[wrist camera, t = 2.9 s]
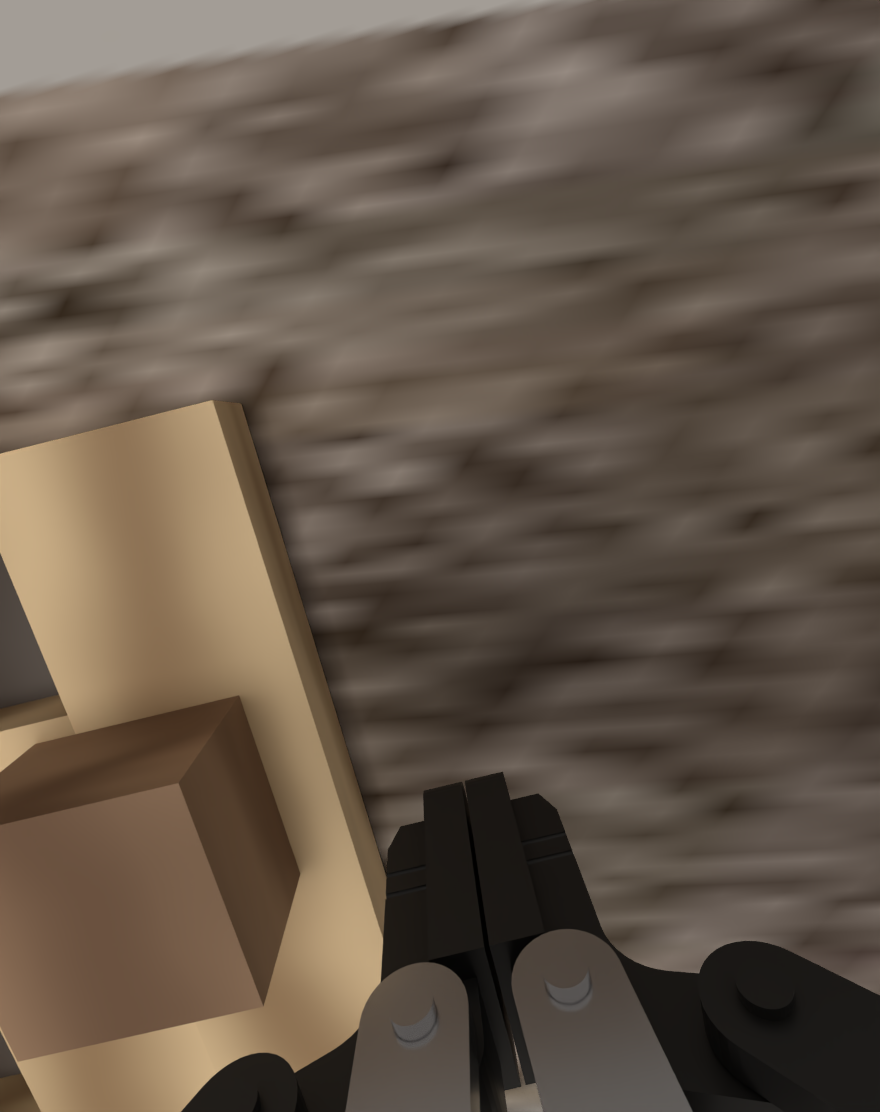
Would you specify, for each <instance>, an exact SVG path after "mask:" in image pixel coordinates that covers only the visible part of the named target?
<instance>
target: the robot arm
mask: <svg viewBox="0 0 880 1112" xmlns="http://www.w3.org/2000/svg"><path fill="white" fill-rule="evenodd" d="M465 786H466V792H467V797H466V793H465V789H464V786H463V783H462V782H459V783H454V784H450V785H446V786H442V787H438V788H433V789H429V790H425V791H424V793H423V800H424V821H422V822H418V823H413V824H409V825H405V826H401V827H400V829H399V830H398V832H397V834H396V836H395V838H394V840H393V842H392V843H391V845H390V847H389V849H388V861H387V878H386V899H385V914H384V932H383V950H382V968H381V982H380V984H379V985H378V986H377V987H376V988H375V990H374V991H373V992H372V993H371V995H370V997H369V998H368V1000H367V1002H366V1004H365V1006H364V1009H363V1011H362V1014H361V1018H360V1023H359V1028H358V1029H357V1030H356V1032H355V1033H354V1034H353V1035H352V1036H351V1037H350V1038H348V1039H347V1040H346V1041H345V1042H344V1043H342V1044H341V1045H340V1046H338V1047H337V1048H335V1049H334V1050H332V1051H331V1052H329V1053H327V1054H325V1055H324V1056H322V1057H320V1058H319V1059H317V1060H315V1061H314V1062H312V1063H310V1064H309V1065H307V1066H305V1067H303V1068H302V1069H300V1070H298V1071H297V1072H295V1073H294V1071H293V1069H292V1067H291V1066H290V1064H289V1063H288V1062H287V1061H286V1060H285V1059H284V1058H282V1057H280V1056H278V1055H276V1054H272V1053H255V1054H250V1055H247V1056H244V1057H242V1058H239V1059H237V1060H235V1061H234V1062H232V1063H230V1064H228V1065H227V1066H226V1067H224V1068H223V1069H221V1070H220V1071H219V1072H218V1073H216V1074H215V1075H214V1076H213V1077H212V1078H211V1079H210V1080H209V1081H208V1082H207V1083H206V1084H205V1085H204V1086H203V1087H202V1088H201V1089H200V1090H199V1091H198V1093H197V1094H196V1095H195V1096H194V1097H193V1098H192V1100H191V1101H190V1102H189V1103H188V1104H187V1105H186V1106H185V1108H184V1109H183V1110H182V1111H181V1112H507V1107H506V1099H505V1092H504V1090H509V1089H513V1088H517V1087H521V1083H520V1077H519V1071H518V1064H517V1058H516V1052H515V1046H514V1041H515V1045H516V1049H517V1053H518V1057H519V1060H520V1064H521V1068H522V1072H523V1076H524V1079H525V1083H526V1085H528V1084H532V1083H536V1085H537V1089H538V1093H539V1097H540V1100H541V1104H542V1108H543V1112H880V996H879V995H877V994H875V993H873V992H871V991H869V990H867V989H865V988H863V987H861V986H859V985H857V984H855V983H853V982H851V981H849V980H847V979H845V978H843V977H841V976H839V975H837V974H835V973H833V972H831V971H829V970H827V969H825V968H823V967H821V966H819V965H817V964H815V963H813V962H811V961H809V960H807V959H805V958H803V957H801V956H798V955H796V954H794V953H792V952H790V951H788V950H786V949H783V948H781V947H779V946H775V945H772V944H768V943H763V942H757V941H741V942H734V943H730V944H727V945H724V946H722V947H720V948H718V949H716V950H715V951H714V952H713V953H711V954H710V955H709V956H708V958H707V959H706V960H705V961H704V963H703V965H702V967H701V969H700V973H699V974H697V973H686V972H674V971H664V970H658V969H653V968H650V967H646V966H644V965H641V964H639V963H637V962H634V961H633V960H631V959H629V958H628V957H626V956H624V955H623V954H622V953H621V952H619V951H618V950H617V949H616V948H615V947H614V946H613V945H612V944H611V943H610V942H609V940H608V939H607V937H606V936H605V934H604V932H603V930H602V928H601V926H600V923H599V920H598V918H597V915H596V912H595V910H594V907H593V904H592V902H591V899H590V896H589V894H588V891H587V888H586V886H585V883H584V881H583V878H582V875H581V873H580V870H579V867H578V865H577V862H576V859H575V857H574V854H573V852H572V849H571V846H570V843H569V841H568V838H567V835H566V834H565V830H564V828H563V825H562V822H561V820H560V817H559V814H558V812H557V809H556V808H555V807H553V806H552V805H551V804H550V803H549V802H548V801H546V800H545V799H544V798H543V797H542V796H541V795H539V794H534V795H530V796H526V797H522V798H518V799H513V800H510V797H509V793H508V789H507V786H506V782H505V778H504V774H503V772H500V773H496V774H491V775H487V776H483V777H479V778H475V779H470V780H466V781H465ZM467 799H468V801H467ZM513 1038H514V1040H513Z"/></svg>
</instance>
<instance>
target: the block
mask: <svg viewBox="0 0 880 1112" xmlns="http://www.w3.org/2000/svg"><path fill="white" fill-rule="evenodd" d="M299 877H300V871H299V868H298V865H297V862H296V859H295V856H294V854H293V851H292V848H291V845H290V842H289V839H288V836H287V833H286V830H285V827H284V824H283V821H282V819H281V816H280V813H279V810H278V807H277V804H276V801H275V798H274V795H273V792H272V789H271V787H270V784H269V781H268V778H267V775H266V772H265V769H264V766H263V763H262V760H261V757H260V754H259V752H258V749H257V746H256V743H255V740H254V737H253V734H252V731H251V728H250V725H249V722H248V720H247V717H246V714H245V711H244V708H243V705H242V702H241V699H240V696H239V695H238V696H234V697H230V698H225V699H221V700H217V701H213V702H209V703H204V704H200V705H196V706H192V707H188V708H184V709H179V710H175V711H171V712H167V713H163V714H158V715H154V716H150V717H146V718H142V719H138V720H133V721H129V722H125V723H121V724H117V725H112V726H108V727H104V728H100V729H96V730H92V731H87V732H83V733H79V734H75V735H71V736H66V737H62V738H58V739H54V740H50V741H45V742H41V743H37V744H34V745H33V746H32V747H31V748H29V749H28V750H27V751H26V752H25V753H23V754H22V755H21V756H20V757H18V758H17V759H16V760H15V761H14V762H12V763H11V764H10V765H9V766H7V767H6V768H5V769H4V770H2V771H1V772H0V1028H1V1030H2V1032H3V1034H4V1036H5V1037H6V1039H7V1041H8V1043H9V1045H10V1047H11V1049H12V1051H13V1053H14V1055H15V1057H16V1059H17V1061H18V1062H19V1061H24V1060H28V1059H33V1058H37V1057H42V1056H46V1055H51V1054H55V1053H60V1052H64V1051H69V1050H73V1049H77V1048H82V1047H86V1046H91V1045H95V1044H100V1043H104V1042H109V1041H113V1040H118V1039H122V1038H127V1037H131V1036H135V1035H140V1034H144V1033H149V1032H153V1031H158V1030H162V1029H167V1028H171V1027H176V1026H180V1025H184V1024H189V1023H193V1022H198V1021H202V1020H207V1019H211V1018H216V1017H220V1016H225V1015H229V1014H234V1013H238V1012H242V1011H247V1010H251V1009H256V1008H260V1007H264V1003H265V1000H266V996H267V993H268V989H269V985H270V982H271V978H272V975H273V971H274V967H275V964H276V960H277V957H278V953H279V949H280V946H281V942H282V939H283V935H284V931H285V928H286V924H287V921H288V917H289V913H290V910H291V906H292V903H293V899H294V895H295V892H296V888H297V885H298V881H299Z"/></svg>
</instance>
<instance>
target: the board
mask: <svg viewBox="0 0 880 1112" xmlns="http://www.w3.org/2000/svg"><path fill="white" fill-rule="evenodd" d="M238 695H239V696H240V699H241V702H242V705H243V708H244V711H245V714H246V717H247V720H248V722H249V725H250V728H251V731H252V734H253V737H254V740H255V743H256V746H257V749H258V752H259V754H260V757H261V760H262V763H263V766H264V769H265V772H266V775H267V778H268V781H269V784H270V787H271V789H272V792H273V795H274V798H275V801H276V804H277V807H278V810H279V813H280V816H281V819H282V821H283V824H284V827H285V830H286V833H287V836H288V839H289V842H290V845H291V848H292V851H293V854H294V856H295V859H296V862H297V865H298V868H299V871H300V877H299V881H298V885H297V888H296V892H295V895H294V899H293V903H292V906H291V910H290V913H289V917H288V921H287V924H286V928H285V931H284V935H283V939H282V942H281V946H280V949H279V953H278V957H277V960H276V964H275V967H274V971H273V975H272V978H271V982H270V985H269V989H268V993H267V996H266V1000H265V1003H264V1007H260V1008H256V1009H251V1010H247V1011H242V1012H238V1013H234V1014H229V1015H225V1016H220V1017H216V1018H211V1019H207V1020H202V1021H198V1022H193V1023H189V1024H184V1025H180V1026H176V1027H171V1028H167V1029H162V1030H158V1031H153V1032H149V1033H144V1034H140V1035H135V1036H131V1037H127V1038H122V1039H118V1040H113V1041H109V1042H104V1043H100V1044H95V1045H91V1046H86V1047H82V1048H77V1049H73V1050H69V1051H64V1052H60V1053H55V1054H51V1055H46V1056H42V1057H37V1058H33V1059H28V1060H24V1061H19V1062H18V1061H17V1059H16V1057H15V1055H14V1053H13V1051H12V1049H11V1047H10V1045H9V1043H8V1041H7V1039H6V1037H5V1036H4V1034H3V1032H2V1030H1V1028H0V1112H181V1111H182V1110H183V1109H184V1108H185V1106H186V1105H187V1104H188V1103H189V1102H190V1101H191V1100H192V1098H193V1097H194V1096H195V1095H196V1094H197V1093H198V1091H199V1090H200V1089H201V1088H202V1087H203V1086H204V1085H205V1084H206V1083H207V1082H208V1081H209V1080H210V1079H211V1078H212V1077H213V1076H214V1075H215V1074H216V1073H218V1072H219V1071H220V1070H221V1069H223V1068H224V1067H226V1066H227V1065H228V1064H230V1063H232V1062H234V1061H235V1060H237V1059H239V1058H242V1057H244V1056H247V1055H250V1054H255V1053H272V1054H276V1055H278V1056H280V1057H282V1058H284V1059H285V1060H286V1061H287V1062H288V1063H289V1064H290V1066H291V1067H292V1069H293V1071H294V1073H295V1072H297V1071H298V1070H300V1069H302V1068H303V1067H305V1066H307V1065H309V1064H310V1063H312V1062H314V1061H315V1060H317V1059H319V1058H320V1057H322V1056H324V1055H325V1054H327V1053H329V1052H331V1051H332V1050H334V1049H335V1048H337V1047H338V1046H340V1045H341V1044H342V1043H344V1042H345V1041H346V1040H347V1039H348V1038H350V1037H351V1036H352V1035H353V1034H354V1033H355V1032H356V1030H357V1029H358V1028H359V1023H360V1018H361V1014H362V1011H363V1009H364V1006H365V1004H366V1002H367V1000H368V998H369V997H370V995H371V993H372V992H373V991H374V990H375V988H376V987H377V986H378V985H379V984H380V982H381V968H382V950H383V932H384V914H385V899H386V878H387V877H386V874H385V871H384V867H383V864H382V861H381V858H380V854H379V851H378V848H377V845H376V841H375V838H374V835H373V832H372V828H371V825H370V822H369V819H368V815H367V812H366V809H365V806H364V802H363V799H362V796H361V792H360V789H359V786H358V783H357V779H356V776H355V773H354V770H353V766H352V763H351V760H350V757H349V753H348V750H347V747H346V744H345V740H344V737H343V734H342V731H341V727H340V724H339V721H338V717H337V714H336V711H335V708H334V704H333V701H332V698H331V695H330V691H329V688H328V685H327V682H326V678H325V675H324V672H323V669H322V665H321V662H320V659H319V656H318V652H317V649H316V646H315V643H314V639H313V636H312V633H311V629H310V626H309V623H308V620H307V616H306V613H305V610H304V607H303V603H302V600H301V597H300V594H299V590H298V587H297V584H296V581H295V577H294V574H293V571H292V568H291V564H290V561H289V558H288V555H287V551H286V548H285V545H284V541H283V538H282V535H281V532H280V528H279V525H278V522H277V519H276V515H275V512H274V509H273V506H272V502H271V499H270V496H269V493H268V489H267V486H266V483H265V480H264V476H263V473H262V470H261V466H260V463H259V460H258V457H257V453H256V450H255V447H254V444H253V440H252V437H251V434H250V431H249V427H248V424H247V421H246V418H245V414H244V411H243V408H242V405H241V404H240V403H232V402H224V401H216V400H211V401H207V402H203V403H199V404H195V405H191V406H187V407H183V408H179V409H175V410H171V411H167V412H163V413H159V414H155V415H151V416H147V417H144V418H140V419H136V420H132V421H128V422H124V423H120V424H116V425H112V426H108V427H104V428H100V429H96V430H92V431H88V432H84V433H80V434H76V435H72V436H68V437H64V438H61V439H57V440H53V441H49V442H45V443H41V444H37V445H33V446H29V447H25V448H21V449H17V450H13V451H9V452H5V453H1V454H0V772H1V771H2V770H4V769H5V768H6V767H7V766H9V765H10V764H11V763H12V762H14V761H15V760H16V759H17V758H18V757H20V756H21V755H22V754H23V753H25V752H26V751H27V750H28V749H29V748H31V747H32V746H33V745H34V744H37V743H41V742H45V741H50V740H54V739H58V738H62V737H66V736H71V735H75V734H79V733H83V732H87V731H92V730H96V729H100V728H104V727H108V726H112V725H117V724H121V723H125V722H129V721H133V720H138V719H142V718H146V717H150V716H154V715H158V714H163V713H167V712H171V711H175V710H179V709H184V708H188V707H192V706H196V705H200V704H204V703H209V702H213V701H217V700H221V699H225V698H230V697H234V696H238Z"/></svg>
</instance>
